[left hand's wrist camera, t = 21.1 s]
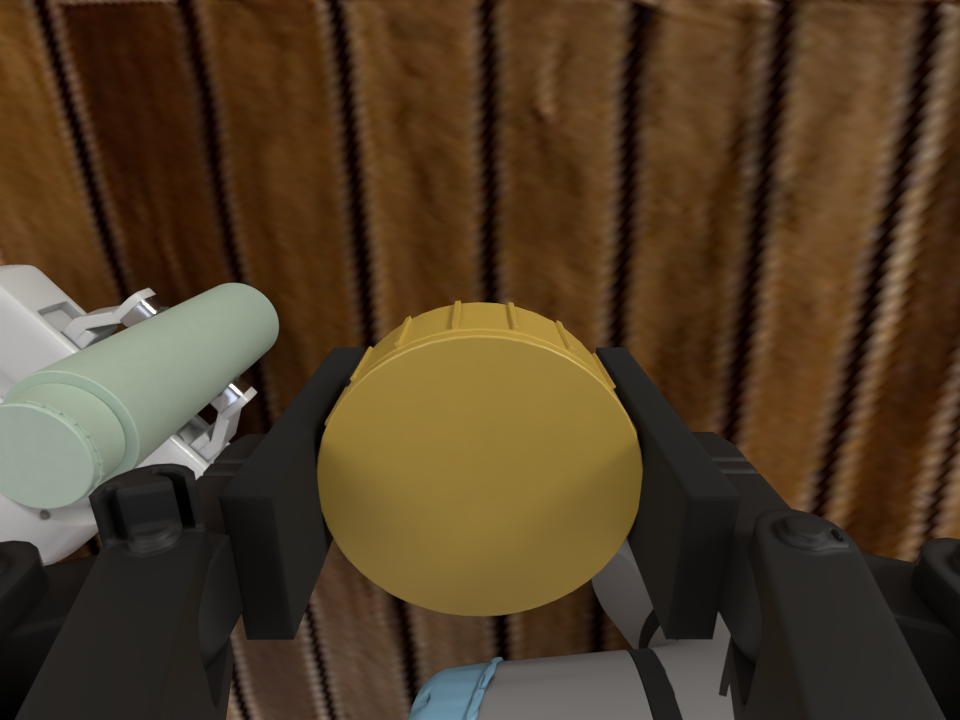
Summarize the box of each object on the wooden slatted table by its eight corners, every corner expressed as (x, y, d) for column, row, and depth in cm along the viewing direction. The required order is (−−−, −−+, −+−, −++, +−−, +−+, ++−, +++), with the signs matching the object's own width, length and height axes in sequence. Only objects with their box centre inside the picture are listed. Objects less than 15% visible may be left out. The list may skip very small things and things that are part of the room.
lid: (607, 277, 11) (639, 306, 9) (623, 529, 13) (651, 602, 11) (311, 319, 11) (272, 357, 9) (375, 559, 13) (355, 635, 11)
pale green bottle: (272, 367, 38) (102, 534, 21) (195, 346, 38) (-44, 501, 21) (285, 295, 37) (110, 414, 19) (204, 272, 36) (-51, 374, 19)
